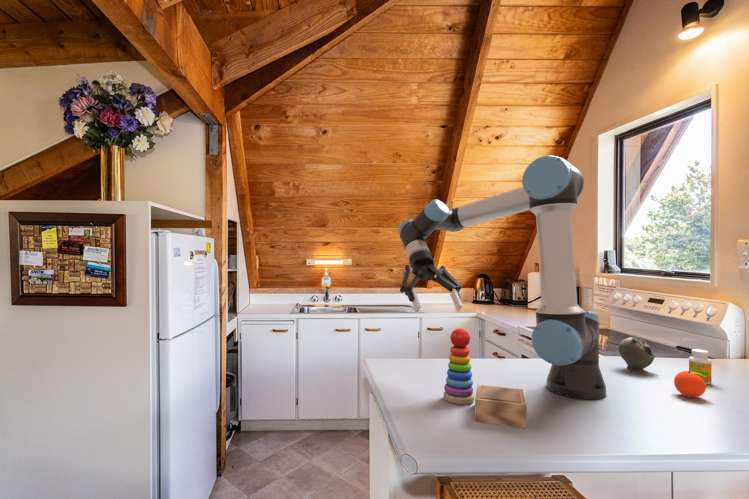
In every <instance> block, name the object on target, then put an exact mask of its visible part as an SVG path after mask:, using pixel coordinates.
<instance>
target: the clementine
mask: <svg viewBox="0 0 749 499" xmlns="http://www.w3.org/2000/svg"><path fill="white" fill-rule="evenodd" d="M698 374H699V373H696V372H690V371H689V370H683V371H680V372H678V373H677V374H676V375H674V378H673V383H674V388H675V389H676V391H678V392H679V393H680V394H681V395H683V396H685V397H687V398H699V397H702V395H704V393H705V392H706V389H707V384H705V382H704V380H703V378H702V377H701V376H699V375H698ZM700 375H702V374H700ZM702 376H704V375H702ZM704 377H705V376H704ZM708 380H709V379H708ZM709 382H710V381H709Z"/></svg>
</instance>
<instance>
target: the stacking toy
mask: <svg viewBox="0 0 749 499" xmlns="http://www.w3.org/2000/svg"><path fill="white" fill-rule="evenodd" d="M449 337H450V342H451V344H452V345H453V346H451V347H450V349H449V350H450V354H449V356H448V361H449V362H448V365H447V367H448V369H447V371H446V374H447V376H446V378H445V385H444V389H443V390H444V392H443V398H444V399H445V401H446V402H449V403H451V404H455V405H469V404H472V403H473V402H475V397H476V396H475V394H474V387H473V385H474V380H473V372H472V371H471V369H472V365H471V363H470V362H471V357H470V356H469V355H470V352H471V351H470V348H469V347H468V345H469V343H470V341H471V337H470V333H469V332H468V331H467V330H466V329H464V328H455V329H454V330H453V331H452V332H451V334H450V336H449Z"/></svg>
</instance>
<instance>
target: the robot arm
mask: <svg viewBox="0 0 749 499" xmlns="http://www.w3.org/2000/svg"><path fill="white" fill-rule="evenodd" d="M584 180H585V179H584V177H583V174H582V172H581V171H580V170H579V169H578V168H577V167H576V166H574V165H573V164H571V163H570V162H569V161H568V160H567V159H565V158H563V157H560V156H555V155H545V156H544V155H543V156H540V157H538V158H536V159H534V160H533V161H531V162H530V164H528V166H527V167H526V168H525V170H524V172H523V175H522V181H521V183H522V186H521V187H518V188H516V189H512V190H509V191H505V192H502V193H499V194H495V195H493V196H489V197H486V198H483V199H480V200H476V201H474V202H471V203H466V204H464V205H461V206H458V207H454V208H451V209H449V208H448V206H447V205H446V204H445V203H444V202H443V201H441V200H439V199H437V198H436V199H435V198H434V199H432V200H431V201H429V203H428V204H426V205H425V206H424V207H423V209H422V210H421V211H420V212H418V214H417V215H416V216H415V218H413V219H411V218H409V219H406V220H404V221H402V222H401V223H400V224H399V226H398V233H399V238H400V240H401V242H402V246H403V249H404V251H405V253H406V257H407V259H408V262H409V265H408V264H406V265H405V266H404V269H403V271H402V272H403V277H402V282H401V284H400V289H399V292H400V293H404V295H405V296H407V298H408V301H409V302H411V303H412V306H413V310H414V312H415V313H419V311H420V309H421V307H422V306H421V304H420V300H419V298H418V294H417V291H416V289H415V288H414V287H415V286H416V284H417V283H418V282H419V280H421V281H432V282H434V283H437V284H439V285H440V286H441V287H442V288H444V289H446V290H447V291H448V292H449V293H450V297H451V300H452V303H453V305H454V307H455V310H456V312H460V311H461V310H462V308H463V307H464V306H463V302H462V301H461V299H462V296H461V294H460V292H461V290H462V288H463V285H462V284H461V283H460V282H459V281H458V280H457V279H456V278H455V277H454V276H453V275H452V274H451V273H450V272H448V270H447V269H446V267H445V265H441V266H440V267H437V266H435V262H434V259H433V257H432V253H431V252H430V248H429V247H428V244H427V242H426V239H427V237H429V236H430V235H431V234H432V233H433V232H434V231H435V230H439V231H446V232H450V233H454V232H460V231H462V230H463V229H464V228H467V227H471V226H475V225H478V224H482V223H486V222H489V221H494V220H497V219H501V218H504V217H508V216H509V217H510V216H513V215H515V214H516V215H517V214H520V213H524V212H526V211H527V212H528V211H530V212H531V213H532V214H534V215H535V218H536V219H535V221H536V233H537V234H536V236H537V251H538V253H537V255H538V268H539V286H540V299H541V300H540V303H541V304H540V305H539V306H538V307H537V308H536V310H535V322H536V326H534V328H533V331H532V333H531V337H530V338H531V345H532V348H533V349H534V352H535V353H536V355H537V356H539V358H540V359H542V360H543V361H544V362H546V363H548V364H550V365H551V366H550V369H549V371H548V373H547V377H546V388H547V389H548V390H550V391H552V392H553V393H556V394H558V395H562V396H566V397H569V398H575V399H581V400H600V399H602V398H605V397H606V396H607V385H606V383H605V381H604V380H605V379H604V376H603V374H602V370H601V368H600V364H599V363H600V360H599V358H600V355H599V354H600V348H599V346H600V324H601V323H600V320H599V314H598V313H597V312H594V311H589V310H584V309H583V308H582V307H580V306H579V304H578V294H577V293H578V292H577V280H576V266H575V265H576V264H575V263H576V262H575V248H574V234H573V233H574V232H573V219H572V218H573V217H572V213H573V211H574V210H575V209H576V208H577V207H578V198H579V197H580V195H581V194H582V192H583V190H584V187H585V181H584ZM411 273H412V274H413V275H415V276H414V277H413V279H412V280H411V282H410V283H409V285H408V286H407V284H408V280H409V276H410V274H411Z"/></svg>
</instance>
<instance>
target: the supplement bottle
mask: <svg viewBox="0 0 749 499" xmlns="http://www.w3.org/2000/svg"><path fill="white" fill-rule="evenodd" d="M691 355H692V356H689V358H688V371H690V372H696V373H699V374H698V375H699V376H701V377H702V378H703V380H704V382H705V384H706V385H711V384H712V360H711V359H710V358H709V356H710V354H709V351H708V350H704V349H695V348H694V349H691ZM700 374H702V375H704V376H705V377H704V376H702V375H700ZM708 379H709V380H708ZM709 381H710V382H709Z"/></svg>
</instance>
